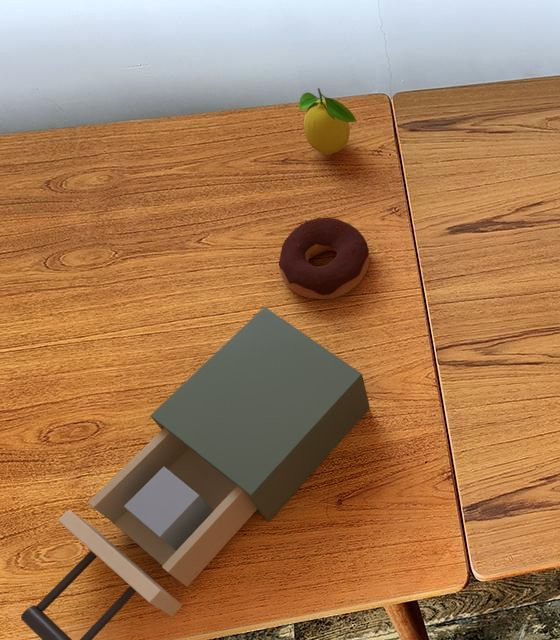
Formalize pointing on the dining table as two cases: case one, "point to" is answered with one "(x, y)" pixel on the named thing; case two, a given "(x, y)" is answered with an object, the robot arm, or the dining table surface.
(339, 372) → the cabinet
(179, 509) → the block
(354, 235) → the donut
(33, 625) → the drawer
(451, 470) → the dining table surface
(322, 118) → the lemon
